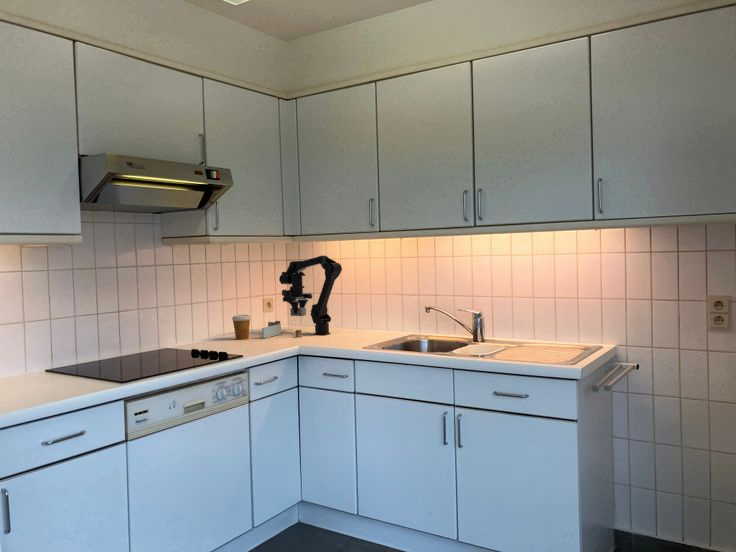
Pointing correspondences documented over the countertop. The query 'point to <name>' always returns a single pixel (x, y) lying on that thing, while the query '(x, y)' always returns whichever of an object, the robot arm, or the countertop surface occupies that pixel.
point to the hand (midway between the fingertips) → (298, 313)
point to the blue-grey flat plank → (271, 331)
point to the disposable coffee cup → (241, 326)
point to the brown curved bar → (298, 332)
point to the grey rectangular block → (298, 312)
